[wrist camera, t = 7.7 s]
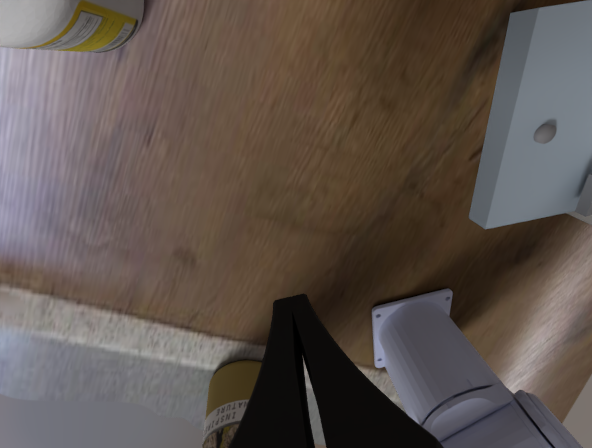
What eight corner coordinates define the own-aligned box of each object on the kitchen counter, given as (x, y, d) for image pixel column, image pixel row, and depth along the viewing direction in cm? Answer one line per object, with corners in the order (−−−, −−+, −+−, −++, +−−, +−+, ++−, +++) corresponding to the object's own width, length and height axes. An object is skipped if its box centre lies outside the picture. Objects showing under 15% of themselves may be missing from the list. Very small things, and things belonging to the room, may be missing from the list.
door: (551, 197, 25) (583, 212, 22) (464, 215, 24) (488, 232, 22) (623, -5, 18) (682, -15, 15) (504, 14, 17) (546, 6, 15)
